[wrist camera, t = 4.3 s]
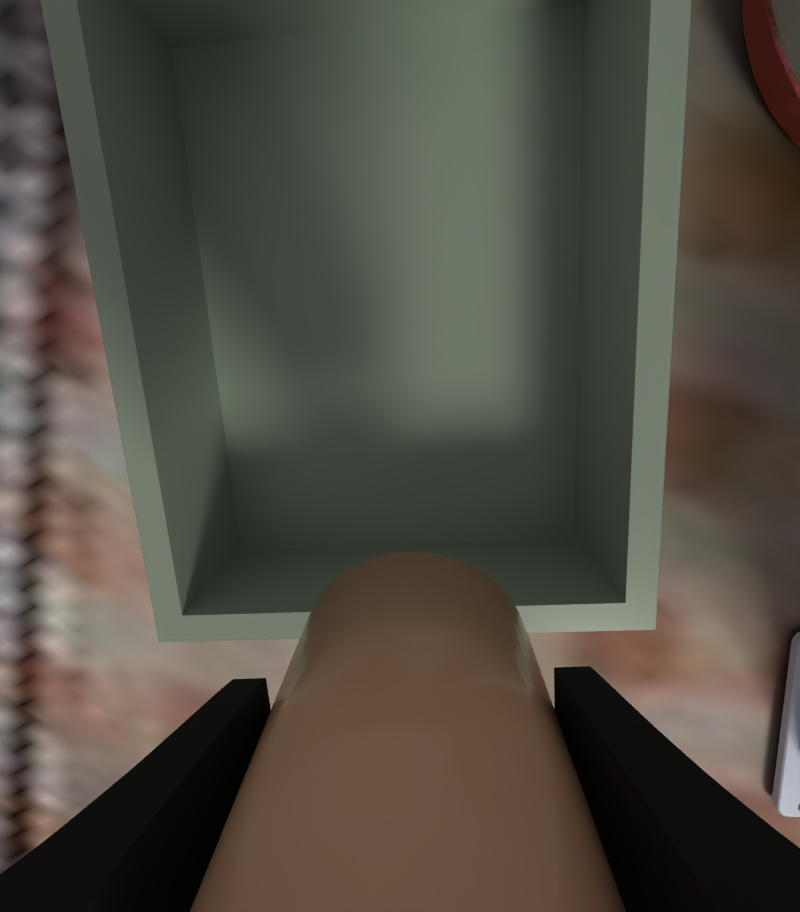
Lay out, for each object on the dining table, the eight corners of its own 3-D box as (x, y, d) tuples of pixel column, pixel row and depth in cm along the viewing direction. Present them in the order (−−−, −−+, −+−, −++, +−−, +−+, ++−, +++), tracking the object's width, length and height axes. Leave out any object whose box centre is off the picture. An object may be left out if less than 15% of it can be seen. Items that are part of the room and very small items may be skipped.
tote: (605, -17, 14) (704, -214, 9) (591, 552, 18) (655, 629, 13) (151, 32, 15) (16, -126, 10) (229, 565, 18) (158, 641, 14)
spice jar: (525, 544, 10) (748, 992, 3) (531, 744, 11) (701, 1382, 4) (288, 558, 10) (26, 994, 3) (318, 751, 11) (167, 1356, 5)
